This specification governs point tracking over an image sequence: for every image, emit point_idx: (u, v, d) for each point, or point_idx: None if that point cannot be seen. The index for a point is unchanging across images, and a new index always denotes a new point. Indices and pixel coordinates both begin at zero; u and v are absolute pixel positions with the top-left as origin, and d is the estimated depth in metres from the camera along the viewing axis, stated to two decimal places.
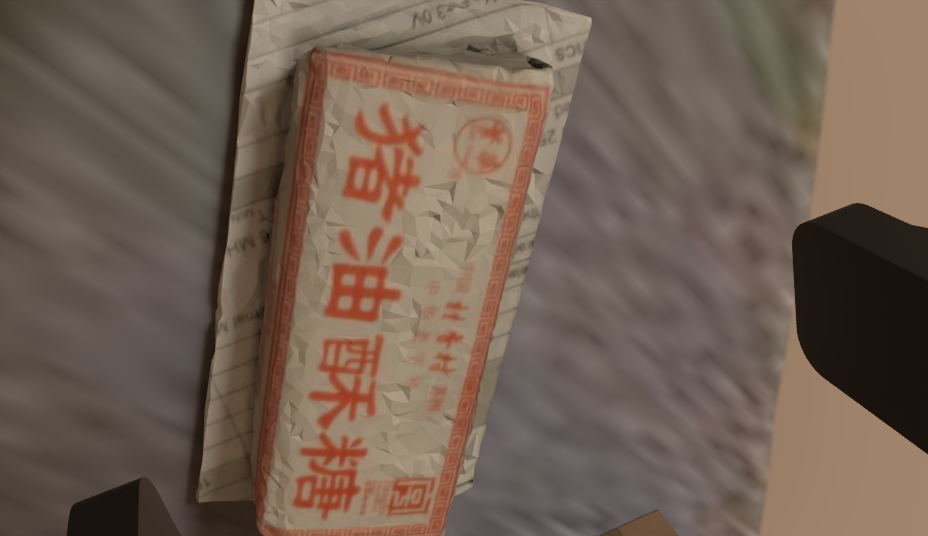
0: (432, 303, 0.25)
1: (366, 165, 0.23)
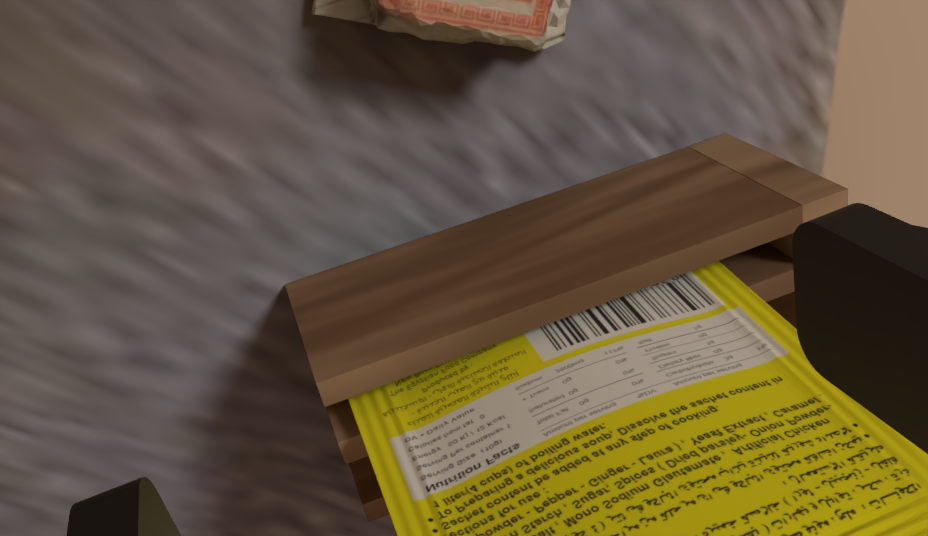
0: None
1: None
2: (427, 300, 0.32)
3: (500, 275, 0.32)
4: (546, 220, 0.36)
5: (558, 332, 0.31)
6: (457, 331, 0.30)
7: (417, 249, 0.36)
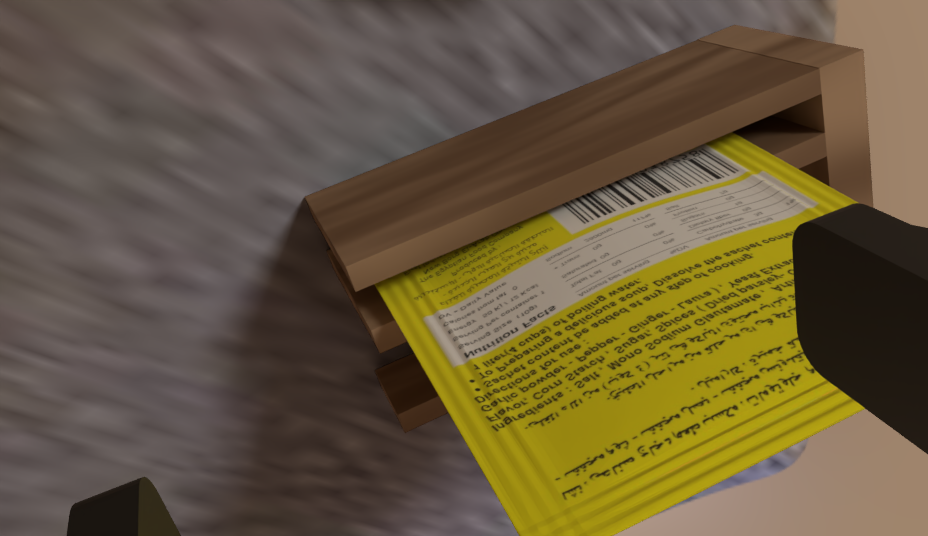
0: None
1: None
2: (450, 189, 0.32)
3: (521, 160, 0.32)
4: (562, 114, 0.35)
5: (584, 208, 0.31)
6: (483, 208, 0.30)
7: (435, 152, 0.36)
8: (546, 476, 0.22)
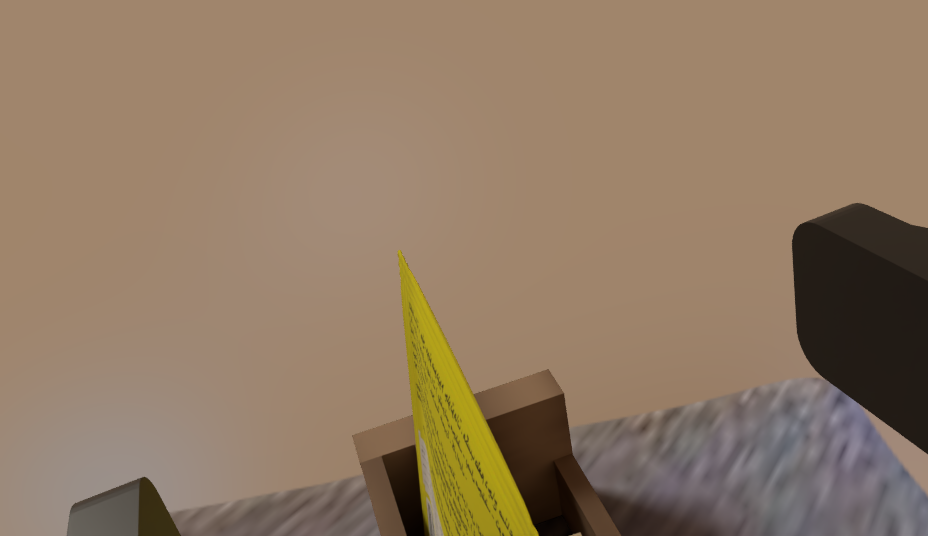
0: None
1: None
2: None
3: None
4: None
5: None
6: None
7: None
8: None
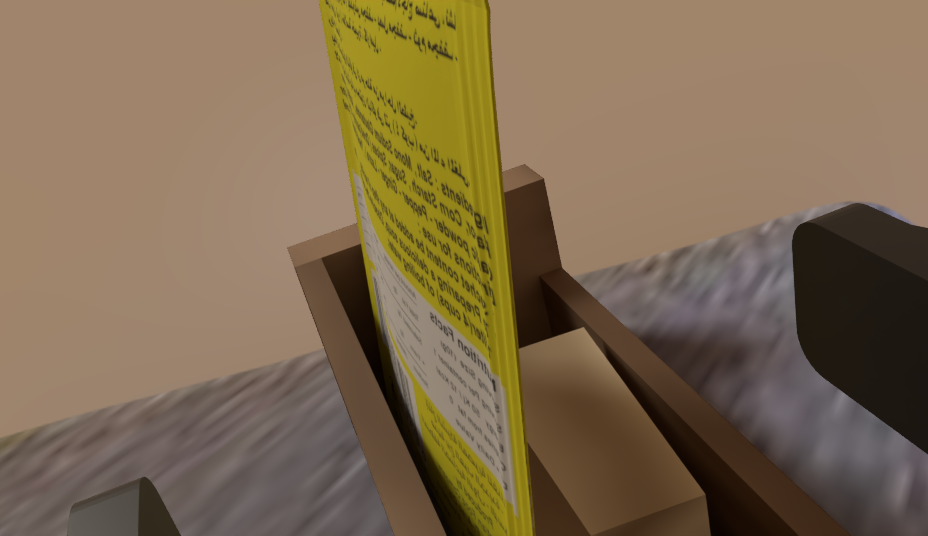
0: None
1: None
2: None
3: None
4: (388, 519, 0.27)
5: (407, 397, 0.23)
6: (383, 503, 0.19)
7: None
8: (466, 79, 0.13)
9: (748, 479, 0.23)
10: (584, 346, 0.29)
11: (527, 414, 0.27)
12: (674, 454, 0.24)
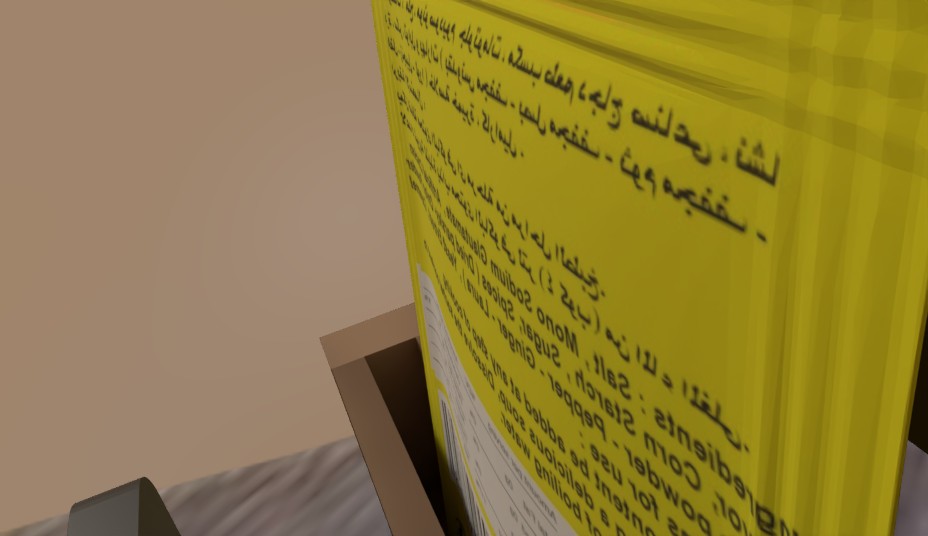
0: None
1: None
2: None
3: None
4: None
5: None
6: None
7: None
8: (781, 278, 0.07)
9: None
10: None
11: None
12: None
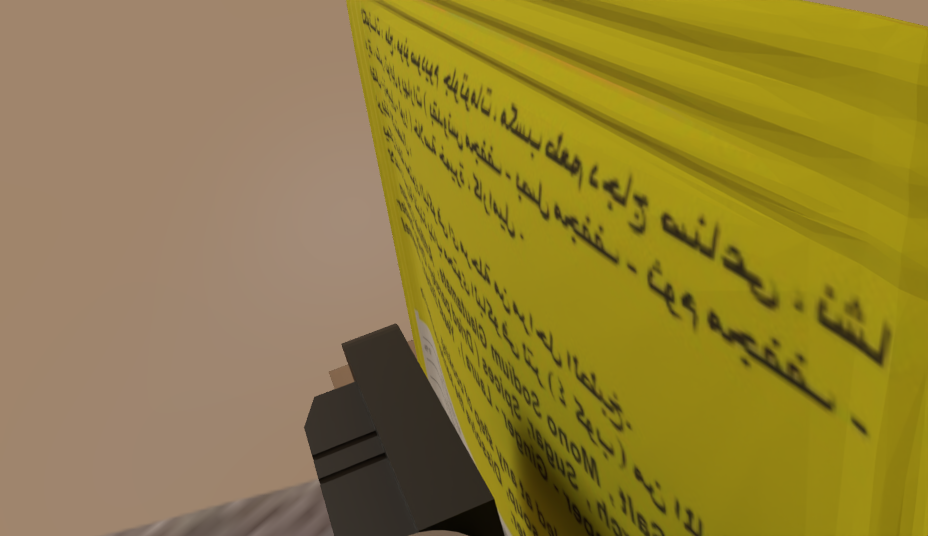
0: None
1: None
2: None
3: None
4: None
5: None
6: None
7: None
8: (889, 485, 0.05)
9: None
10: None
11: None
12: None
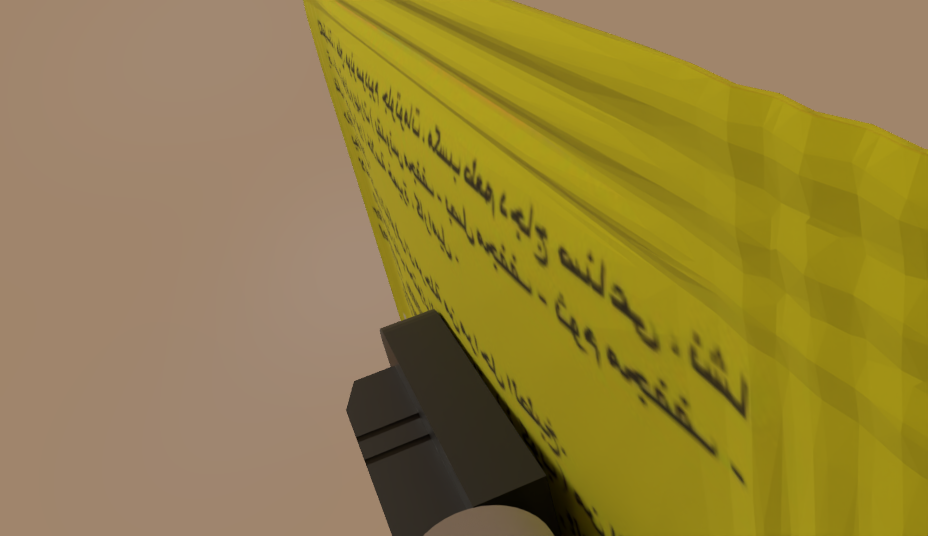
0: None
1: None
2: None
3: None
4: None
5: None
6: None
7: None
8: (776, 531, 0.04)
9: None
10: None
11: None
12: None
